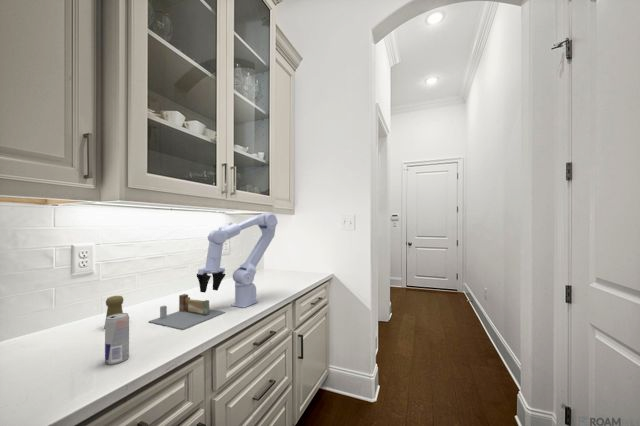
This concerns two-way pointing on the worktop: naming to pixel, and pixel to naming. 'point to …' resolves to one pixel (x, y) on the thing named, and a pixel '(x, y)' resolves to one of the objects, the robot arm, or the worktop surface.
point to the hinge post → (182, 302)
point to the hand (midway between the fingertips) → (209, 291)
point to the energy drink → (116, 338)
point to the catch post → (163, 312)
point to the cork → (114, 305)
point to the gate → (197, 305)
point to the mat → (186, 319)
